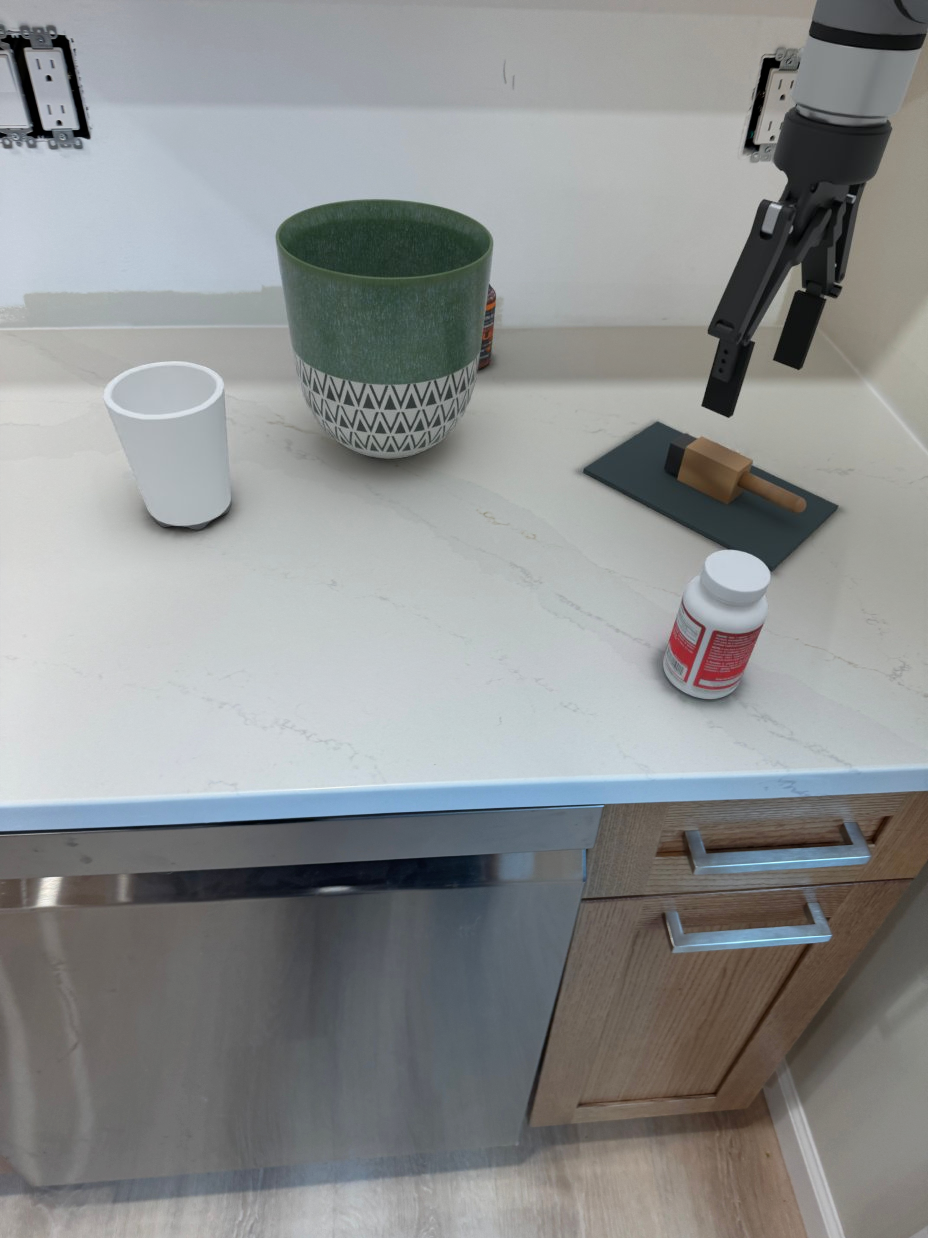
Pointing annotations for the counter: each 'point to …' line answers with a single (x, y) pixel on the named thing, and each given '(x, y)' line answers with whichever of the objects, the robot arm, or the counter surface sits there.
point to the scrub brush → (722, 473)
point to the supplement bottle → (488, 329)
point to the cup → (174, 439)
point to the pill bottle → (718, 625)
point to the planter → (385, 318)
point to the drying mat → (709, 499)
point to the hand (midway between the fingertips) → (753, 386)
